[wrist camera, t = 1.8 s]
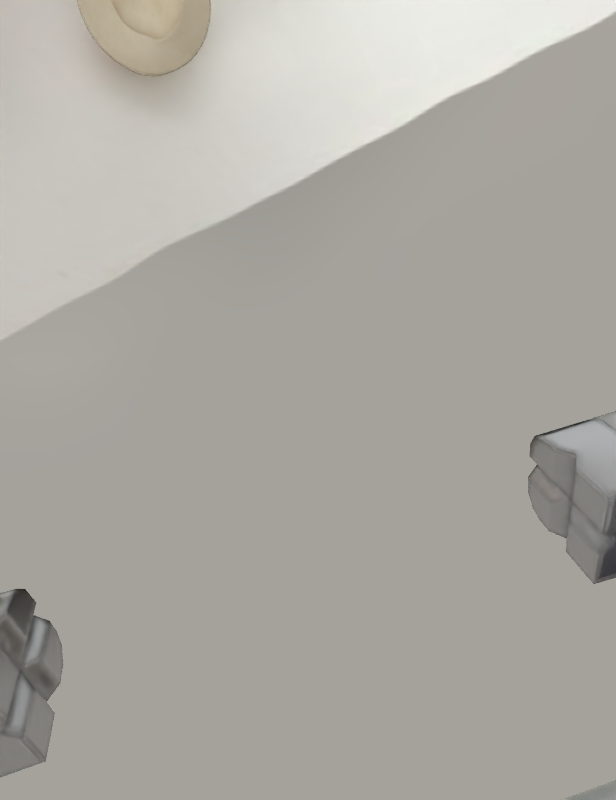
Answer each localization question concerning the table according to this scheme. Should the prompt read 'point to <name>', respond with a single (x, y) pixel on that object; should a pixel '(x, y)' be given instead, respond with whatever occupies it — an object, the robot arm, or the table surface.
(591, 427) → the robot arm
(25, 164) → the table surface
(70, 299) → the table surface
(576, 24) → the table surface
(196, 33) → the candle
